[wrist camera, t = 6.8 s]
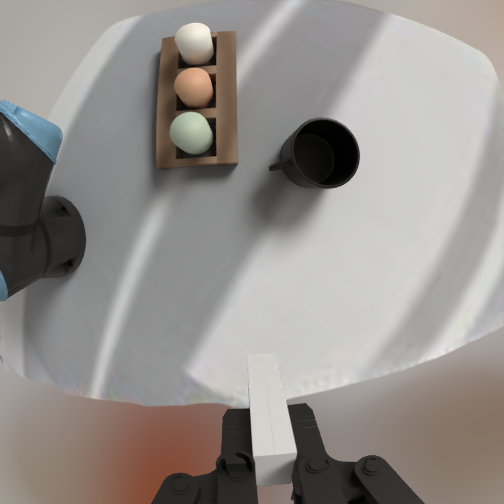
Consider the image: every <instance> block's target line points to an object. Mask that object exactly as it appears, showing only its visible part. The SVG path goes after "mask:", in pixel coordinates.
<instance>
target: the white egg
mask: <svg viewBox="0 0 504 504" xmlns="http://www.w3.org/2000/svg"><path fill="white" fill-rule="evenodd" d="M175 42H176V45H177V47H178V49H179V51H180V53H181V56H182V58H183V60H184V61H185V62H186V63H187V64H189V65H193V66H198V65H202V64H205V63H207V62H208V61H209V60H210V59H211V58H212V56H213V53H214V50H213V45H212V39H211V34H210V30H209V28H208V27H207V26H206V25H204V24H201V23H191V24H187V25H185V26H183V27H181V28H180V29H179V30H178V31H177V33H176V35H175Z"/></svg>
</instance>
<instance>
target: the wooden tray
mask: <svg viewBox="0 0 504 504" xmlns="http://www.w3.org/2000/svg"><path fill="white" fill-rule="evenodd" d="M210 34H211V39H212V45H217V56H216V65H215V66H202V67H191V68H200V69H203V70H204V71H206V72H207V73H208V75H209V77H210V80H211V81H216V108H208V109H195V110H184V111H180V97H179V96H178V94H177V93H176V91H175V88H174V82H175V79H176V78H177V76H178V75H179V74H180V73H181V72H182V71H184V70H186V69H189V68H183V69H182V56H181V53H180V51H179V49H178V47H177V45H176V42H175V36H174V37H168V38H163V39H162V48H161V57H160V68H159V81H158V98H157V126H156V168H159V169H168V168H180V167H193V166H209V165H230V164H238V148H237V89H236V31H225V32H210ZM186 112H196V113H199V114H201V115H202V116H203V117H204V118H205V119H206V121H207V123H210V122H216V152H217V156H215V157H199V158H185V159H180V148H179V147H178V146H176V145H175V144H174V143H173V142H172V140H171V137H170V127H171V124H172V122H173V121H174V120H175V118H177V117H178V116H179V115H181V114H183V113H186Z"/></svg>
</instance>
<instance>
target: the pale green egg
mask: <svg viewBox="0 0 504 504" xmlns="http://www.w3.org/2000/svg"><path fill="white" fill-rule="evenodd" d="M170 137H171V140H172V142H173V143H174V144H175V145H176V146H178V147H179V148H181V149H182V150H184V151H185V152H187V153H189V154H192V155H198V154H202V153H204V152H205V151H207V150H208V149H209V148H210V146H211V144H212V142H213V133H212V131H211V129H210V127H209V125H208V123H207V121H206V119H205V118H204V117H203V116H202V115H201V114H199V113H196V112H186V113H183V114H181V115H179V116H178V117H177V118H175V120H174V121H173V122H172V124H171V127H170Z"/></svg>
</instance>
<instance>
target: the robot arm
mask: <svg viewBox="0 0 504 504" xmlns="http://www.w3.org/2000/svg"><path fill="white" fill-rule="evenodd" d="M62 137H63V136H62V131H61V129H60V128H59V127H58V126H56V125H55V124H53V123H51V122H49V121H47V120H45V119H43V118H41V117H39V116H37V115H35V114H33V113H31V112H29V111H27V110H25V109H22V108H21V107H18V106H16V105H14V104H12V103H10V102H7V101H5V100H2V101H0V301H4V300H6V299H7V298H9V297H10V296H12V295H13V294H15V293H17V292H18V291H20V290H21V289H23V288H25V287H26V286H28V285H30V284H31V283H33V282H35V281H36V280H38V279H40V278H58V277H63V276H65V275H67V274H69V273H71V272H72V271H74V270H75V269H76V268H77V267H78V265H79V264H80V262H81V260H82V258H83V255H84V252H85V245H86V235H85V228H84V224H83V221H82V218H81V216H80V214H79V212H78V210H77V209H76V207H75V206H74V205H73V204H72V203H71V202H70V201H69V200H67V199H65V198H63V197H60V196H50V197H45V198H44V196H45V192H46V189H47V185H48V182H49V179H50V176H51V172H52V169H53V166H54V164H56V157H57V154H58V151H59V148H60V145H61V142H62ZM247 364H248V387H249V405H250V408H248V409H228V410H227V411H226V413H225V414H224V416H223V424H222V446H221V455H220V456H219V457H218V458H217V461H216V467H217V468H216V469H215V470H214V471H212V472H211V473H208V474H205V475H200V476H195V477H193V476H191V475H188V474H186V473H175V474H172V475H170V476H168V477H167V478H166V479H165V480H164V481H163V483H162V485H161V487H160V489H159V490H158V492H157V494H156V496H155V498H154V500H153V501H152V503H151V504H258V497H257V486H269V485H280V484H289V483H291V481H292V483H293V492H292V496H291V500H294V504H424V502H423V501H422V500H421V499H420V498H419V497H418V496H417V495H416V494H415V493H414V492H413V491H412V489H411V488H410V487H409V486H408V485H407V484H406V483H405V482H404V481H403V480H402V479H401V477H400V476H399V475H398V474H397V473H396V472H395V471H394V470H393V469H392V467H391V466H390V465H389V464H388V463H387V462H386V461H385V460H384V459H382V458H381V457H379V456H375V455H370V456H366V457H363V458H361V459H360V460H358V462H342V461H337V460H334V459H333V458H331V457H330V456H329V455H328V454H327V453H326V451H325V448H324V445H323V442H322V439H321V435H320V432H319V429H318V427H317V423H316V420H315V416H314V413H313V410H312V409H311V408H310V407H309V406H308V405H307V404H306V403H304V404H294V405H287V404H286V399H285V394H284V389H283V385H282V380H281V376H280V371H279V366H278V362H277V357H276V353H267V354H247Z"/></svg>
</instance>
